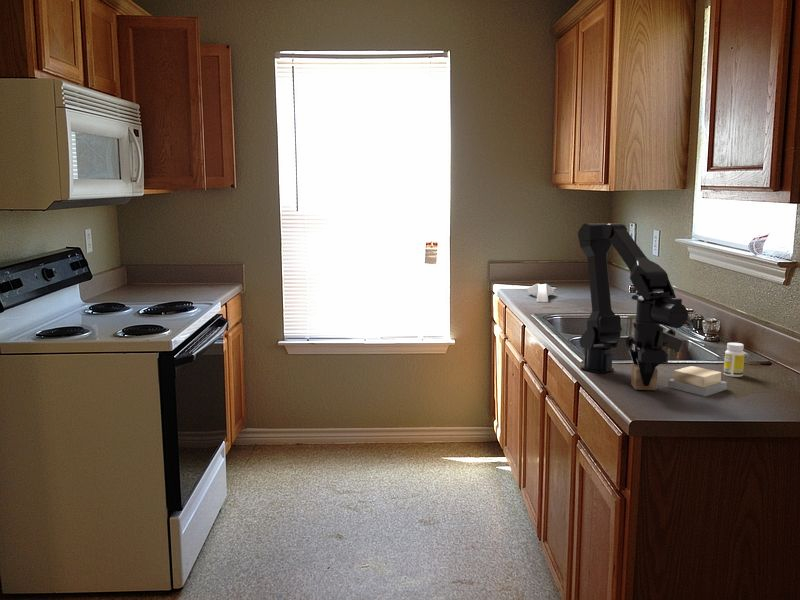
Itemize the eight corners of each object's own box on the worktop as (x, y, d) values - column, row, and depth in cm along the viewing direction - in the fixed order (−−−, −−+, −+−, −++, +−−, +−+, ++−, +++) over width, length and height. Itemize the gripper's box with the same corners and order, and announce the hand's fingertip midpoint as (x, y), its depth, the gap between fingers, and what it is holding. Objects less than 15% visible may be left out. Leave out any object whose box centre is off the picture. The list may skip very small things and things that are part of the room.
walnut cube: (635, 389, 186) (636, 369, 185) (630, 383, 191) (632, 364, 190) (656, 390, 185) (657, 370, 184) (651, 384, 190) (652, 365, 189)
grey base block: (667, 389, 190) (668, 379, 189) (688, 383, 196) (689, 373, 196) (705, 399, 182) (706, 389, 182) (726, 392, 188) (727, 382, 188)
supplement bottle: (744, 374, 203) (747, 343, 202) (741, 378, 199) (743, 346, 198) (725, 371, 206) (727, 341, 204) (721, 375, 202) (724, 344, 200)
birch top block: (673, 380, 189) (674, 370, 189) (690, 375, 194) (691, 365, 194) (703, 387, 183) (704, 377, 183) (720, 382, 188) (721, 372, 188)
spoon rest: (526, 294, 340) (526, 278, 338) (552, 294, 338) (553, 278, 337) (528, 302, 316) (529, 285, 315) (557, 303, 315) (558, 286, 314)
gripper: (693, 329, 175) (688, 394, 178) (672, 314, 194) (667, 374, 196) (643, 327, 176) (639, 392, 179) (627, 313, 195) (623, 372, 197)
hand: (643, 382), depth 188 cm, fingers closed on walnut cube, 5 cm apart
